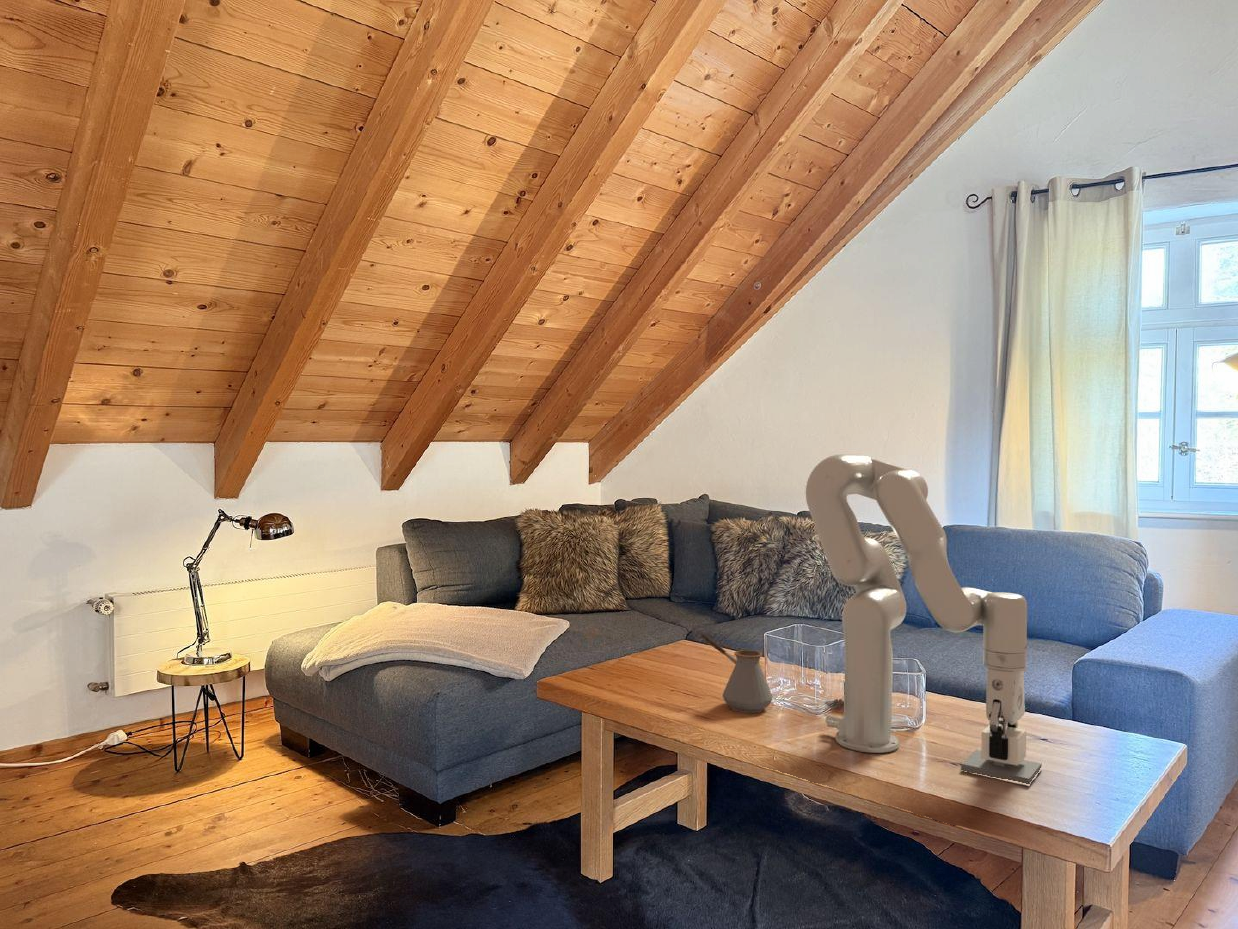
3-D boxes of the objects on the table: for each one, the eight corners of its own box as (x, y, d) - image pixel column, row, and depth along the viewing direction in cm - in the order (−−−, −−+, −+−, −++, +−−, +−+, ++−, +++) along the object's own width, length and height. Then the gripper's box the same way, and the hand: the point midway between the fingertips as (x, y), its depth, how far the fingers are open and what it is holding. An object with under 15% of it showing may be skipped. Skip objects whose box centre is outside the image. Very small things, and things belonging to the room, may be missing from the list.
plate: (960, 771, 170) (961, 763, 170) (975, 757, 178) (976, 749, 178) (1028, 787, 163) (1029, 778, 163) (1041, 771, 171) (1041, 763, 171)
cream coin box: (1017, 765, 165) (1017, 737, 165) (981, 758, 169) (981, 731, 169) (1025, 756, 171) (1026, 729, 170) (990, 749, 174) (990, 722, 174)
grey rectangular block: (994, 764, 169) (994, 746, 169) (998, 760, 172) (999, 742, 172) (1004, 766, 168) (1004, 748, 168) (1008, 762, 171) (1009, 744, 171)
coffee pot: (782, 709, 208) (783, 645, 208) (749, 719, 200) (750, 652, 200) (714, 689, 224) (715, 629, 224) (682, 697, 217) (683, 635, 216)
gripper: (1014, 671, 160) (1013, 770, 161) (1036, 653, 174) (1035, 745, 175) (970, 664, 165) (969, 761, 165) (995, 648, 179) (994, 737, 179)
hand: (1003, 752), depth 170 cm, fingers closed on cream coin box, 6 cm apart
